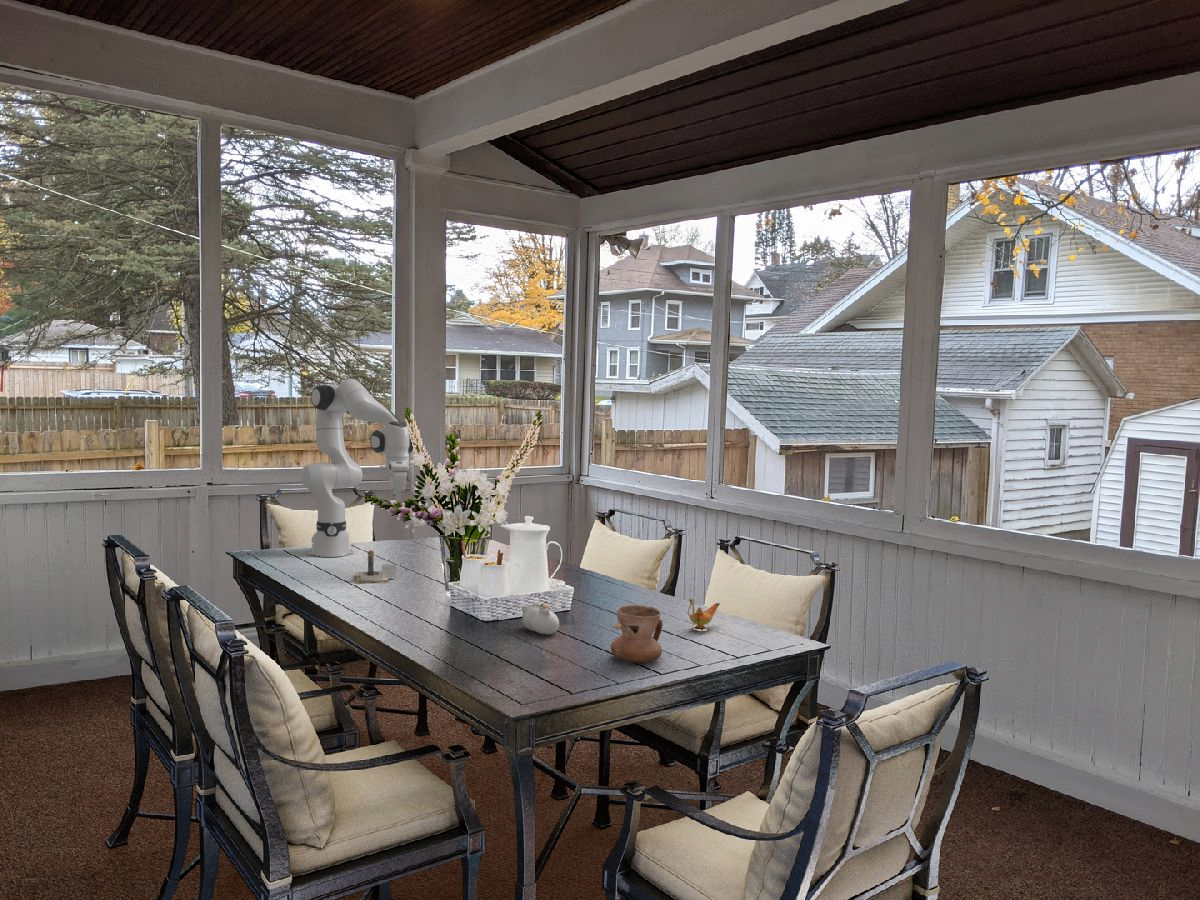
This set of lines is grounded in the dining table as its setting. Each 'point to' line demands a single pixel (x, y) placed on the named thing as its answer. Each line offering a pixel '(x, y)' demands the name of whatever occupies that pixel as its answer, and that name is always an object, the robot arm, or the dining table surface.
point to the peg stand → (370, 570)
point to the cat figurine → (540, 618)
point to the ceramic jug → (637, 634)
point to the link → (380, 573)
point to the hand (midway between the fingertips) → (396, 500)
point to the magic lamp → (702, 615)
